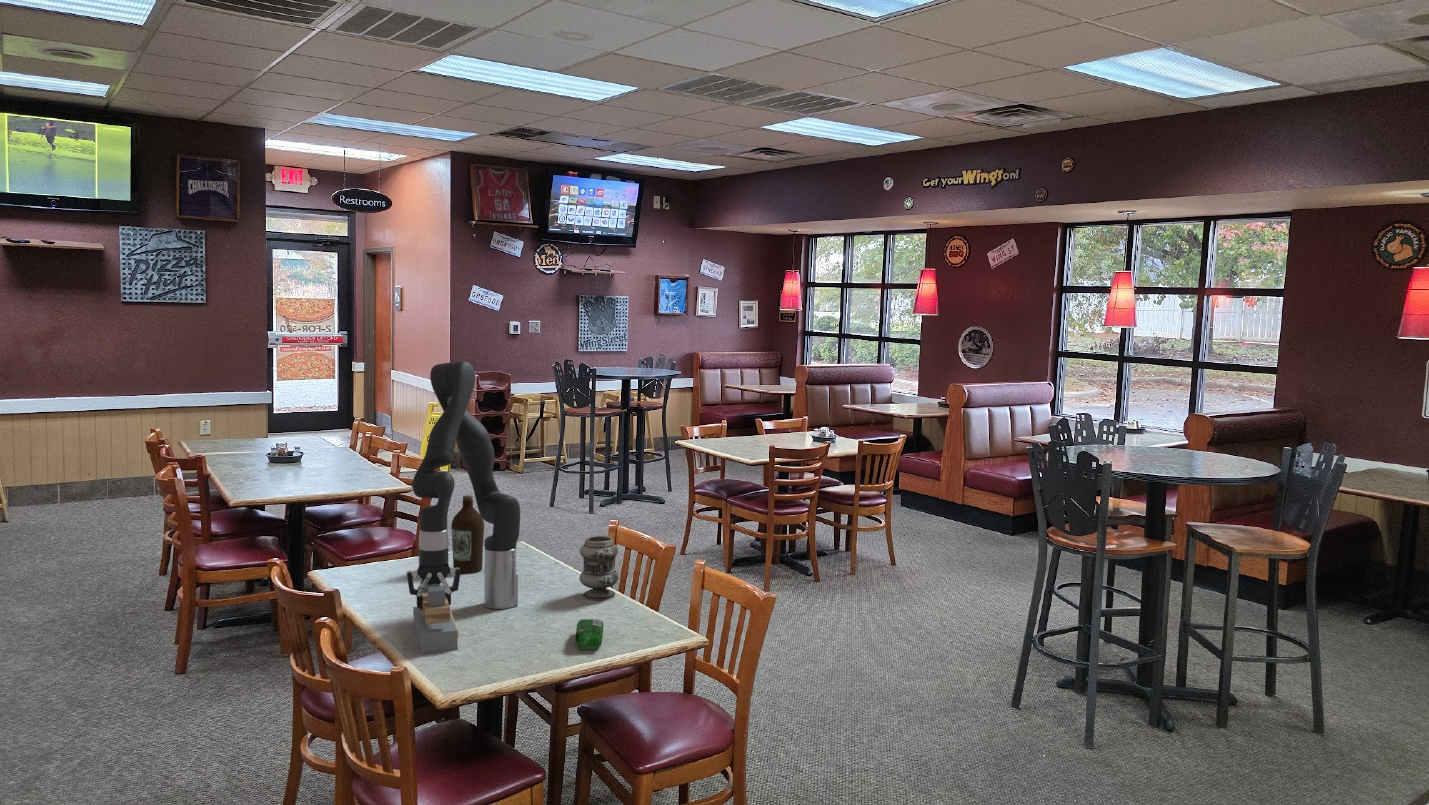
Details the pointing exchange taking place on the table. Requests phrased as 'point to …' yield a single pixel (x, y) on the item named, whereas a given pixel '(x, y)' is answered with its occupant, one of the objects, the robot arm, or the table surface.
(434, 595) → the block
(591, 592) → the apothecary jar
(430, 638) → the dock
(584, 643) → the snack package
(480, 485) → the robot arm
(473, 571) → the olive oil
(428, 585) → the block
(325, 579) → the table surface
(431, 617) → the board
